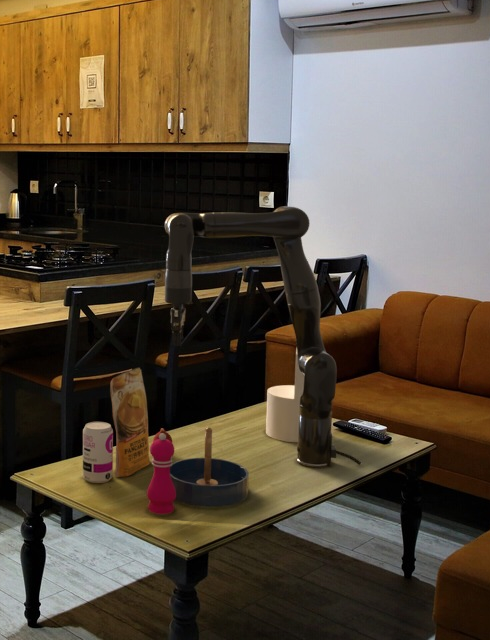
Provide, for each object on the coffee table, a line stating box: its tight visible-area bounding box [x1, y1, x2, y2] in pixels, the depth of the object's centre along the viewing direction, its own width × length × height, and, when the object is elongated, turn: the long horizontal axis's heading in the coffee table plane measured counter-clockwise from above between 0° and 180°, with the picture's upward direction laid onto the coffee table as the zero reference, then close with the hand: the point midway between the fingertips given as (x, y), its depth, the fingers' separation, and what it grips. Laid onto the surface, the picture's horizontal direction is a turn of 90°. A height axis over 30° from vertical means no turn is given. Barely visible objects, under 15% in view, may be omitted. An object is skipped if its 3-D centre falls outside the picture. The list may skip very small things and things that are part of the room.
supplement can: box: [82, 421, 114, 484], centre depth 240 cm, size 8×8×15 cm
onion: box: [152, 428, 174, 444], centre depth 261 cm, size 6×6×8 cm
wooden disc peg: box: [197, 426, 218, 485], centre depth 230 cm, size 6×6×17 cm
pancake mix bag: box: [109, 367, 151, 478], centre depth 247 cm, size 7×19×28 cm, turn 145°
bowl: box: [170, 457, 250, 508], centre depth 231 cm, size 21×21×6 cm
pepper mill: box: [146, 433, 176, 515], centre depth 218 cm, size 7×7×20 cm
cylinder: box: [265, 348, 304, 443], centre depth 281 cm, size 17×17×28 cm
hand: (177, 342), depth 246 cm, fingers open, 8 cm apart
